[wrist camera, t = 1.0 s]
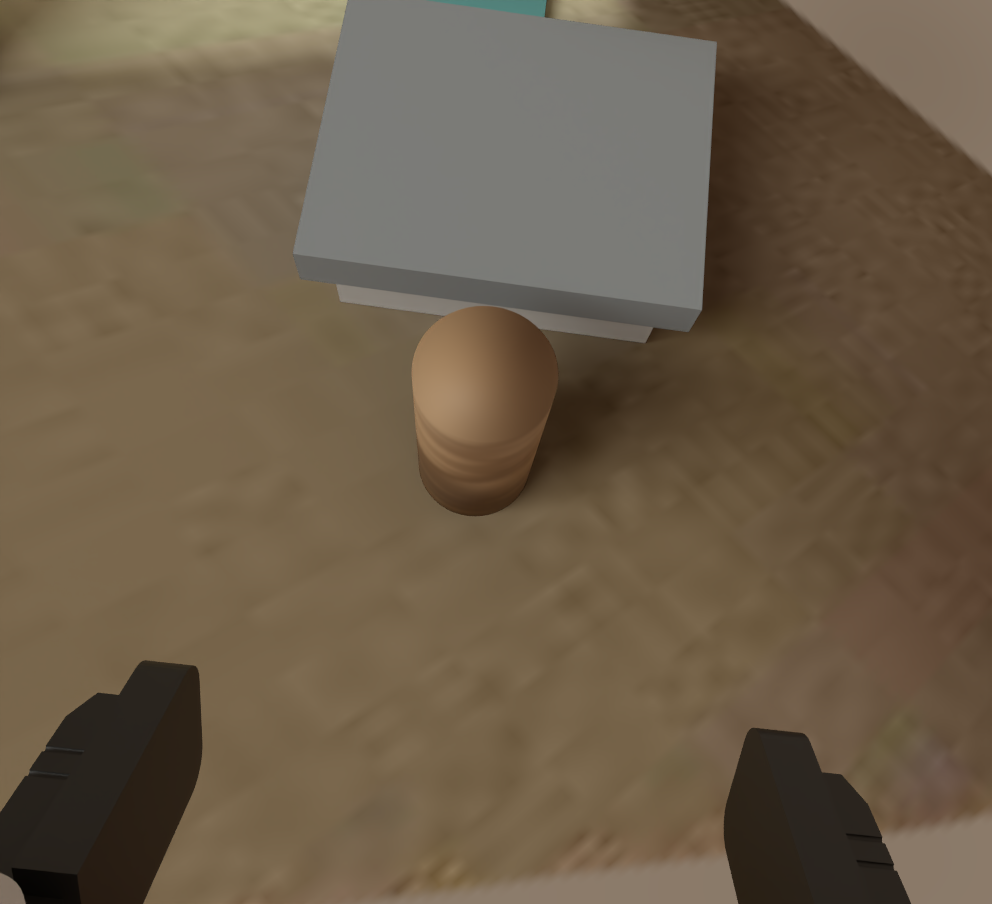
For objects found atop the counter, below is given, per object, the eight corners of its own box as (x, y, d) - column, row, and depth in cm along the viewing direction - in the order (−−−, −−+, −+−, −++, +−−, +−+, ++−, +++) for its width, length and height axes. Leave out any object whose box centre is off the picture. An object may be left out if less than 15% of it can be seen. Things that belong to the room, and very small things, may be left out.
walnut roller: (411, 508, 38) (400, 431, 29) (427, 403, 40) (423, 297, 30) (523, 523, 38) (550, 451, 29) (535, 417, 40) (565, 316, 30)
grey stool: (313, 322, 40) (292, 253, 35) (361, 85, 44) (350, -11, 39) (665, 370, 41) (701, 309, 35) (681, 131, 45) (716, 41, 39)
